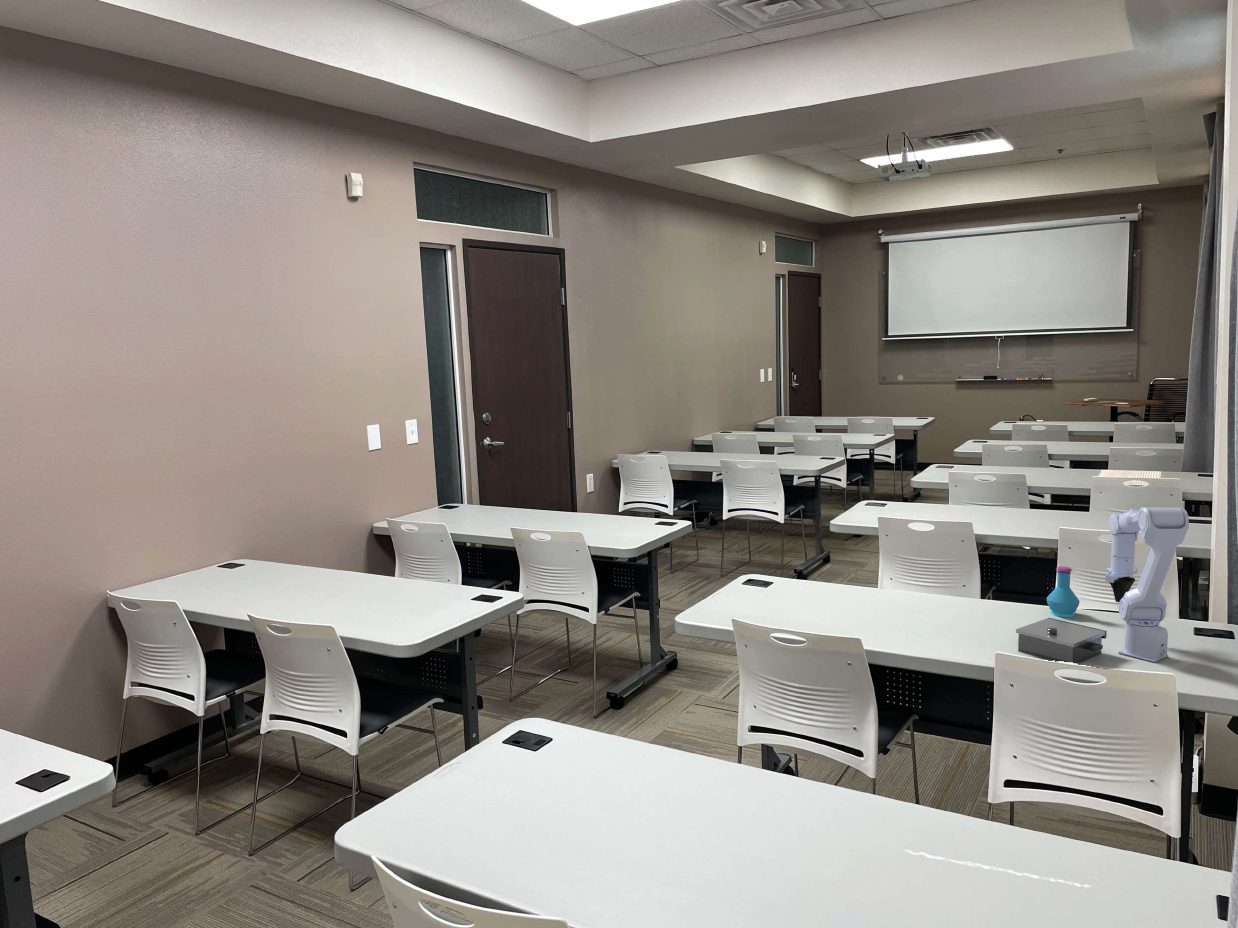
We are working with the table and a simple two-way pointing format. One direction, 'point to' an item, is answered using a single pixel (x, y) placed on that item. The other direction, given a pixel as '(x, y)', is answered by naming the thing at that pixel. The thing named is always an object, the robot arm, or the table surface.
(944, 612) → the table surface
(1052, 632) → the cooker lid
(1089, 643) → the dark grey box
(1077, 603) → the perfume bottle
